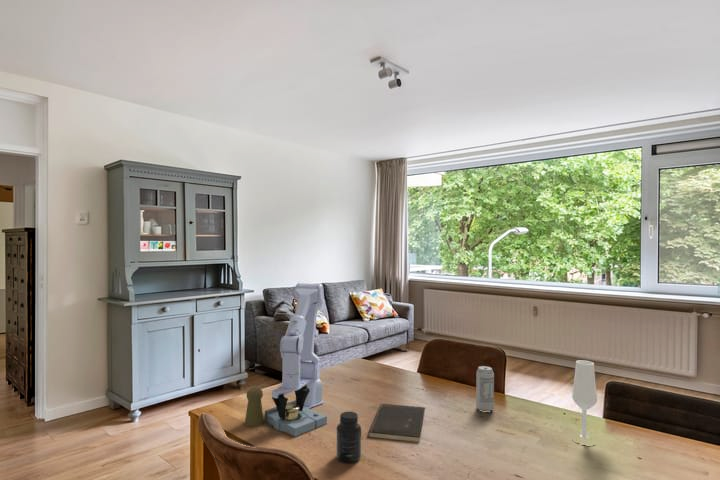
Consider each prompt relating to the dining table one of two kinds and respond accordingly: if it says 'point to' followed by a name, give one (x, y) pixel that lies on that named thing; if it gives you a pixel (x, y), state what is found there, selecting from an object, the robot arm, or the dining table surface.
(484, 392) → the energy drink can
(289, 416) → the cylinder
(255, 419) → the olive green tapered piece
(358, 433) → the supplement bottle
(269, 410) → the block
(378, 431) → the hardcover book
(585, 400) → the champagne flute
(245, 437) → the dining table surface
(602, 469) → the dining table surface
